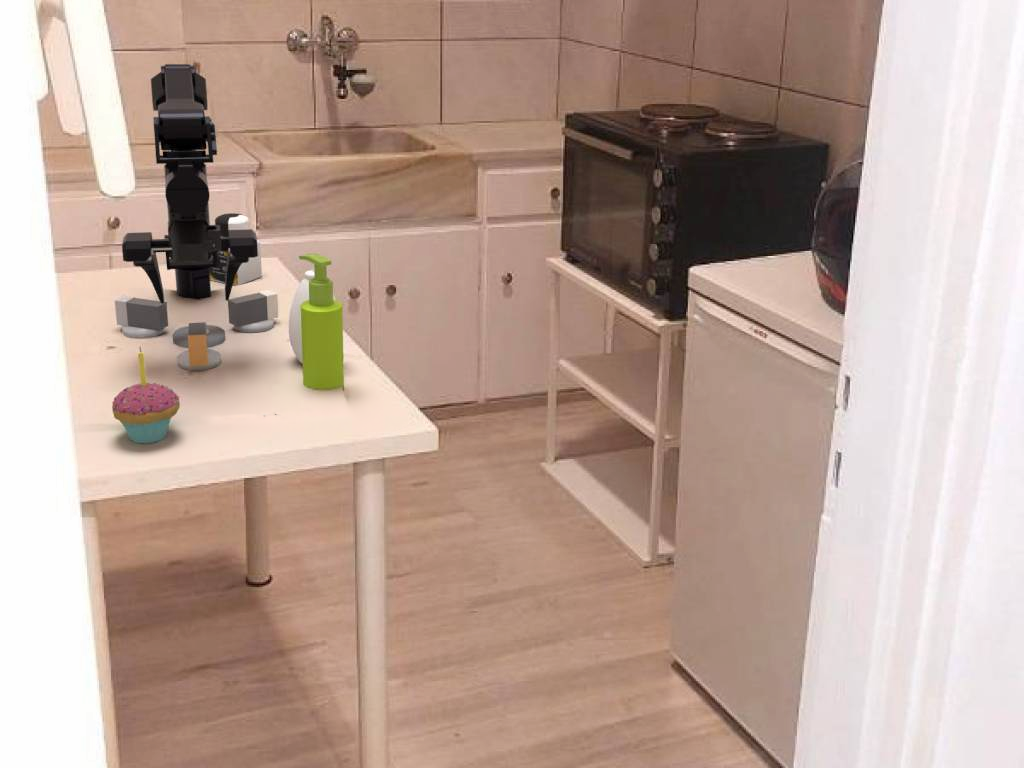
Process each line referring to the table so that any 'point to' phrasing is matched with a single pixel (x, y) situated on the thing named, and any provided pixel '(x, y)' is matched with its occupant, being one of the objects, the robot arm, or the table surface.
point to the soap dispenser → (322, 331)
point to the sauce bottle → (299, 313)
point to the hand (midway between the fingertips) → (194, 301)
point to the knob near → (141, 316)
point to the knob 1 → (198, 350)
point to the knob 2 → (253, 311)
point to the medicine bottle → (218, 274)
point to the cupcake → (145, 408)
